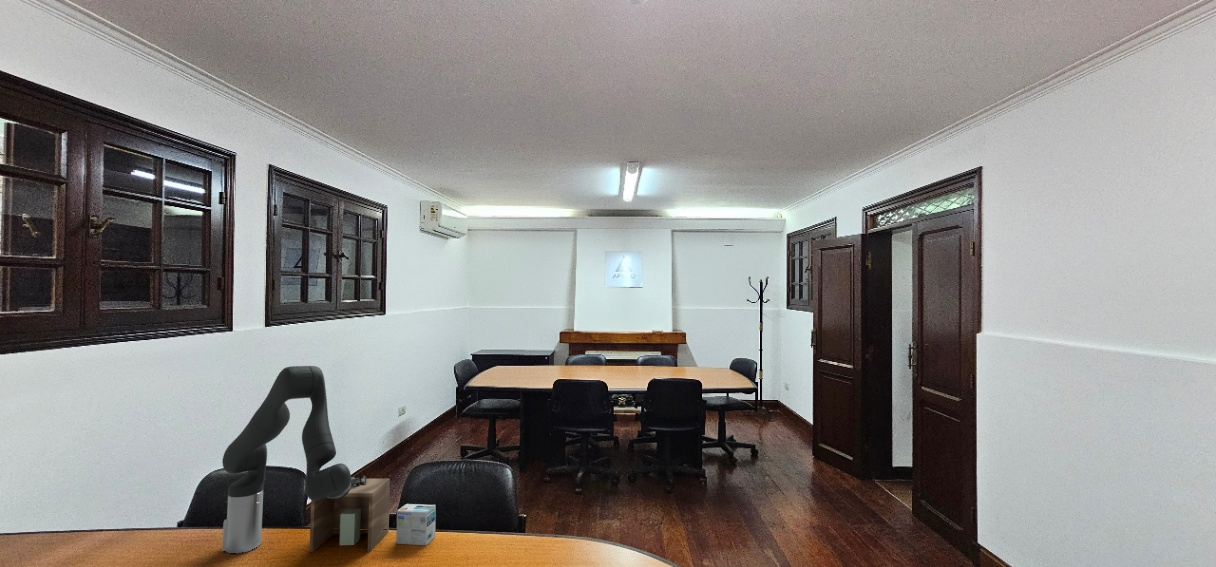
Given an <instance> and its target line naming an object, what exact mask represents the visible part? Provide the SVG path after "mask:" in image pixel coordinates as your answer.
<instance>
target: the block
mask: <svg viewBox="0 0 1216 567" xmlns="http://www.w3.org/2000/svg"><path fill="white" fill-rule="evenodd" d="M360 523H361V508H360V509H346V510H345V511H344V512H342V513H341V517H340V534H339V546H340V545H341V546H342V545H354V544H355V543H356V542H357V543H358V542H359V541H360V540H361V534H360ZM359 539H360V540H359ZM357 543H356V544H357ZM356 544H355V545H356ZM355 545H354V546H355ZM341 546H340V547H341Z"/></svg>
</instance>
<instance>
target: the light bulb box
mask: <svg viewBox="0 0 1216 567" xmlns="http://www.w3.org/2000/svg"><path fill="white" fill-rule="evenodd" d="M436 508H437V507H436V504H421V503H420V504H419V503H417V504H416V503H414V504H413V503H406V504H404V505H403V506H401V507H400V508H399V509H398V510H397V512H396V535H395V536H396V538H395V539H396V541H395V542H396V543H395V544H396V545H411V546H412V545H414V546H417V545H418V546H428V544H429V543H431V542H432V541H433V540H434V538H435V537H436V515H437V514H436Z"/></svg>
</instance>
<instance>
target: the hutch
mask: <svg viewBox="0 0 1216 567" xmlns="http://www.w3.org/2000/svg"><path fill="white" fill-rule="evenodd" d="M390 488H391V478H366V485H360V486H359V487H356V488H355V489H352V490H350V491H349V492H348V494H347V495H345V496H344V497H342V498H339V499H331V498H327V497H326V498H324V499H322V500H319V501H313V500H311V499H310V500H311V501H310V502H311V503H310V525H309V527H310V528H309V551H308V552H309V553H313V552H315V550H317V549H318V548H319V547H320V546H321V545H323V543H324V542H326V541H328V540H329V538H330V537H332V536H333V535H340V529H333V528H340V517H341V513H342V512H344V511H345V510H346V509H360V508H361V523H360V529H368V530H360V533H363V534H364V533H365V534H366V535H367V552H372V551H373V550H374V549H375V547H377V545H378V544H380V542H381V541H382V540H383V539H384V538H385V537H386V535H387V534H388V533H389V528H390V526H389V522H390V521H389V520H390V495H391V494H390V491H391V490H390ZM383 529H387V530H383ZM363 534H362V535H363ZM365 534H364V535H365ZM373 548H374V549H373ZM372 549H373V550H372Z"/></svg>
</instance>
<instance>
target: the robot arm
mask: <svg viewBox="0 0 1216 567" xmlns="http://www.w3.org/2000/svg"><path fill="white" fill-rule="evenodd" d="M326 388H327V387H326V380H325V377H324V373H323V370H322V369H321V368H320V367H319V366H316V365H293V366H291V365H290V366H287V367H284V368H283V369H281V370H280V372H279V374H277V376H276V379H275V380H274V382H273V384H272V386H271V388H270V390H269V392H268V394H267V396H266V397H265V399H264V401H263V402H262V403H261V405H260V406H259V407H258V409H257V410H256V411H255V413H254V414H253V415H252V417H251V418H250V419H249V421H248V422H247V425H246V426H245V427H244V429H242V431H241V432H240V434H239V435H238V436H237V437H236V438H235V439H234V440H233V441H232V442H231V443H230V444H229V445H228V446H227V447H226V449H225V451H224V453H223V456H222V467H223V469H224V470H225V472H226V473H228V474H233V475H234V474H240V473H245V472H246V473H245V474H244V476H242V477H240V478H239V479H237V480H236V481H234V482H232V483H231V484H230V485H229V486H228V490H227V493H228V494H227V511H226V514H227V515H226V519H224V521H223V525H222V526H223V528H222V548H221V551H222V550H224V551H226V552H225V553H227V552H228V553H227V554H230V553H236V554H243V553H246V552H250V551H252V549H253V550H255V549H257V548H259V547H260V546H261V545H262V530H263V526H262V525H263V508H264V506H263V503H264V500H263V499H264V485H265V480H266V468H267V461H268V448H267V444H268V443H269V442H272V441H273V440H274V439H276V438H277V437H279V435H280V434H281V433H282V432H283V430H284V429H285V428H286V427H287V425H288V424H289V421H290V420H291V419H290V418H291V412H290V409H289V407H288V406H287V404H286V402H287V401H289V400H298V399H309V400H310V402H311V410H310V413H309V415H308V417H307V420H306V422H305V424H304V426H303V429H302V431H301V443H302V448H303V451H304V455H305V458H306V459H305V460H306V473H305V481H304V491H305V492H304V493H305V495H306V496H307V498H308V499H309V500H313V501H319V500H322V499H324V498H326V497H327V498H331V499H339V498H342V497H344V496H345V495H347V494H348V492H349V491H350V490H352V489H355V488H356V487H359V486H360V485H366V479H367V477H366V475H360V476H358V477H356V478H355V476H352V473H351V471H350V469H349V468H348V466H347V465H346V464H344V463H342V462H341V463H337V464H333V465H331V466H329V467H325V468H323V469H322V467H323V466H325V465H326V464H328V463H329V462H331V461H332V460H334V458H335V457H336V455H337V449H336V446H335V443H334V439H333V434H332V431H331V428H330V422H329V413H328V412H329V411H328V399H327V390H326ZM259 545H260V546H259ZM256 547H257V548H256ZM254 548H255V549H254ZM242 552H243V553H242Z"/></svg>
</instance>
